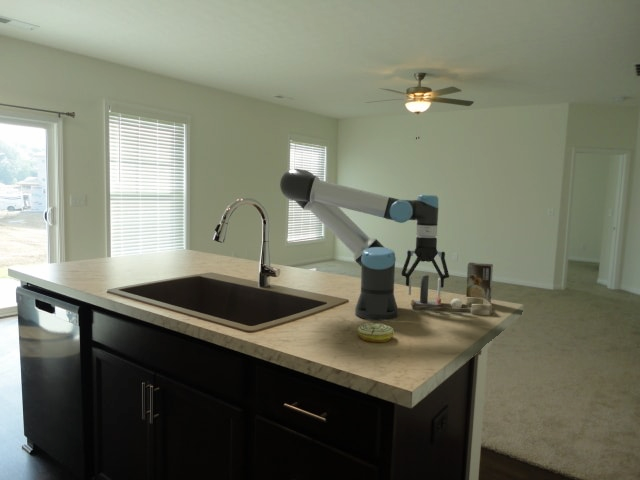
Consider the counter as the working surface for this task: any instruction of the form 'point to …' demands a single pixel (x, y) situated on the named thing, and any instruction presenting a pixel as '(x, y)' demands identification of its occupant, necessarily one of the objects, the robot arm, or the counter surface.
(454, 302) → the ball
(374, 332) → the decorated donut
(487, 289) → the coffee box
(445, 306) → the rail
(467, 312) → the pitch mat
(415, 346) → the counter surface
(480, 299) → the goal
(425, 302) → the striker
